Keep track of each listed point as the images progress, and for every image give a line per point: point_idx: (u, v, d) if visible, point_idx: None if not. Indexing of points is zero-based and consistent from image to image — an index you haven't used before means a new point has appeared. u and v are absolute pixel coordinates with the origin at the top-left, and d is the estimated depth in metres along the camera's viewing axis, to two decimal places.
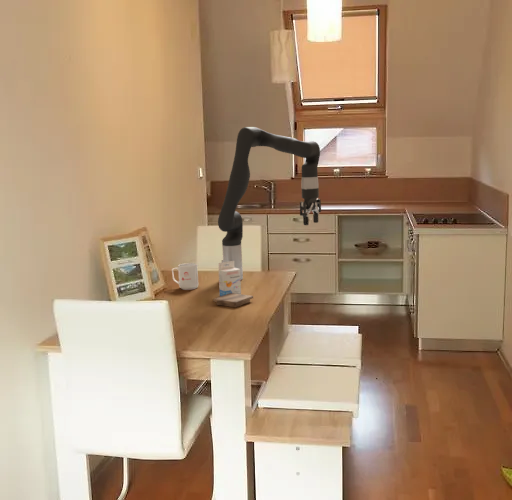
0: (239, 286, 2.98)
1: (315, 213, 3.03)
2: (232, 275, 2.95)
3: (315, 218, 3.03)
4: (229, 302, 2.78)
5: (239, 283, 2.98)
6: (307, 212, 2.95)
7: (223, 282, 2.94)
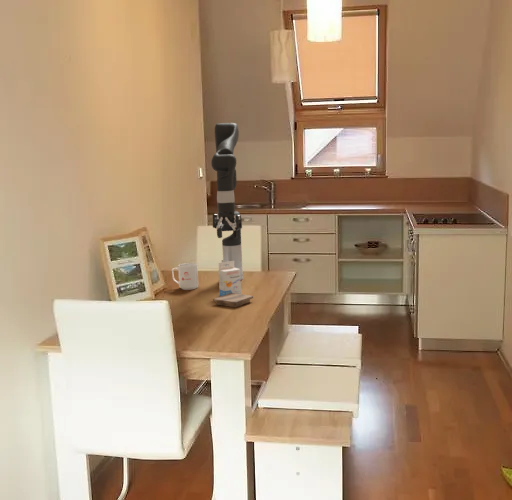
0: (239, 286, 2.98)
1: (219, 228, 2.96)
2: (232, 275, 2.95)
3: (220, 233, 2.97)
4: (229, 302, 2.78)
5: (239, 283, 2.98)
6: None
7: (223, 282, 2.94)
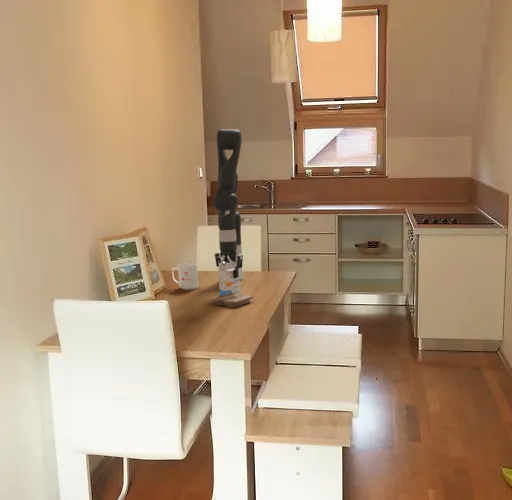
0: (239, 286, 2.98)
1: None
2: (232, 275, 2.95)
3: None
4: (229, 302, 2.78)
5: (239, 283, 2.98)
6: None
7: (223, 282, 2.94)
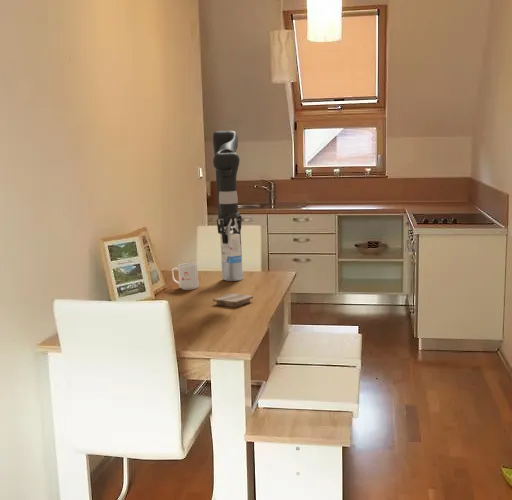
0: None
1: None
2: None
3: None
4: (229, 302, 2.78)
5: None
6: None
7: (239, 246, 2.78)
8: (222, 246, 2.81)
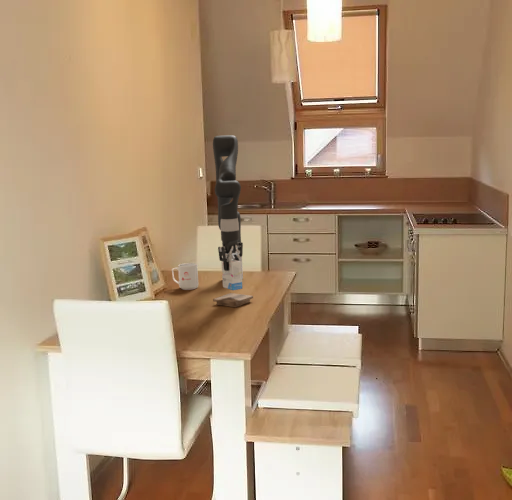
0: None
1: None
2: None
3: None
4: (229, 302, 2.78)
5: None
6: None
7: (240, 273, 2.79)
8: (223, 273, 2.83)
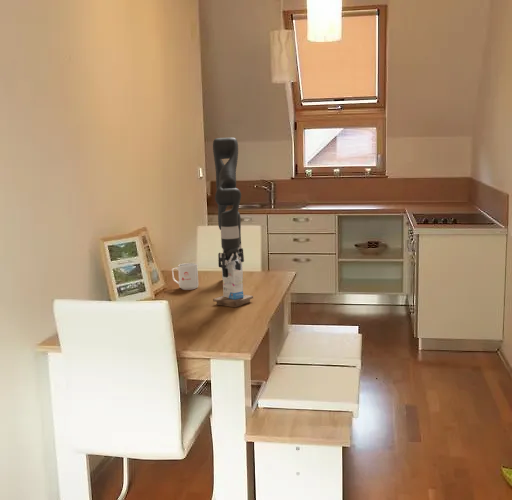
0: None
1: None
2: None
3: None
4: (229, 302, 2.78)
5: None
6: None
7: (241, 282, 2.81)
8: (224, 282, 2.84)
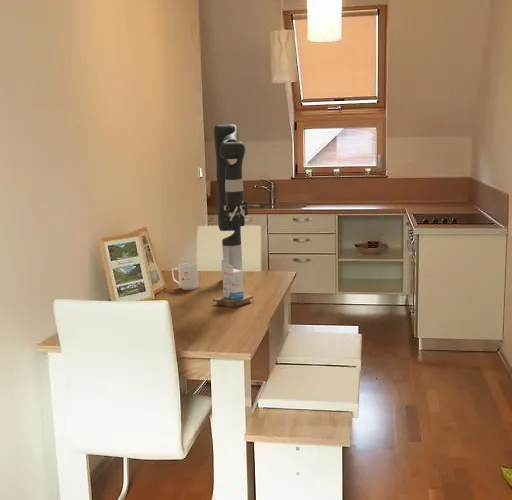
0: None
1: None
2: None
3: None
4: (229, 302, 2.78)
5: None
6: None
7: (241, 282, 2.81)
8: (224, 282, 2.84)
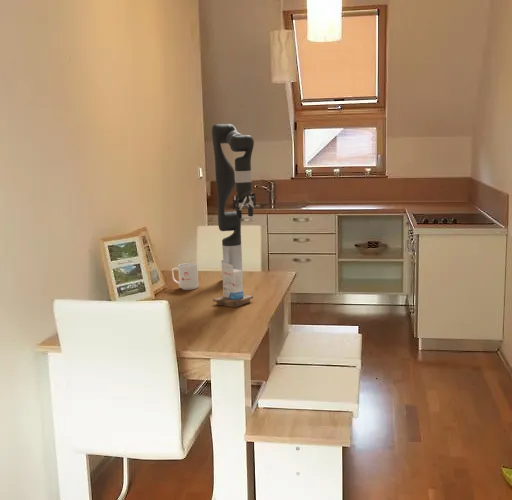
0: None
1: None
2: None
3: None
4: (229, 302, 2.78)
5: None
6: (248, 203, 3.06)
7: (241, 282, 2.81)
8: (224, 282, 2.84)
